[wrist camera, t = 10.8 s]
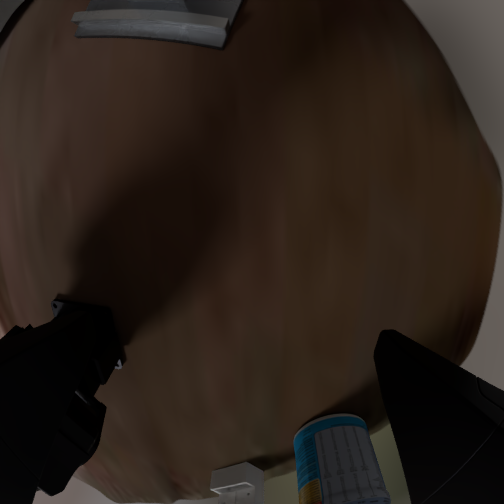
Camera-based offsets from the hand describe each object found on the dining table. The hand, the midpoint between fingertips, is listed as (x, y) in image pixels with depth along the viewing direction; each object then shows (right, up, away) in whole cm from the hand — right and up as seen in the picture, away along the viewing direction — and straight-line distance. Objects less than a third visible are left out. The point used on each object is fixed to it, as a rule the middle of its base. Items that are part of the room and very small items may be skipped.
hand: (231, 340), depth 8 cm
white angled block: (-1, -26, +22) cm, 34 cm away
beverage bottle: (+9, -17, +19) cm, 27 cm away
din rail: (-5, +22, +5) cm, 23 cm away
